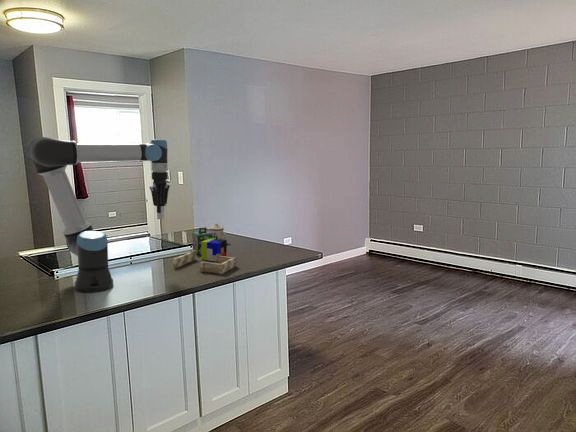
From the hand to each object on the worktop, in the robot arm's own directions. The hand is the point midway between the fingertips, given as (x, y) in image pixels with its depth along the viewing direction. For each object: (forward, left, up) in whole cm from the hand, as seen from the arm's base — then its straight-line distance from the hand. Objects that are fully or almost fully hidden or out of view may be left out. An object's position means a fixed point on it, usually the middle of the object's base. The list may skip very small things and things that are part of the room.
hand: (160, 219), depth 214 cm
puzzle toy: (+26, -16, -25) cm, 39 cm away
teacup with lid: (+61, +2, -25) cm, 66 cm away
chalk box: (+34, -3, -25) cm, 42 cm away
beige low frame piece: (+10, -20, -24) cm, 33 cm away
